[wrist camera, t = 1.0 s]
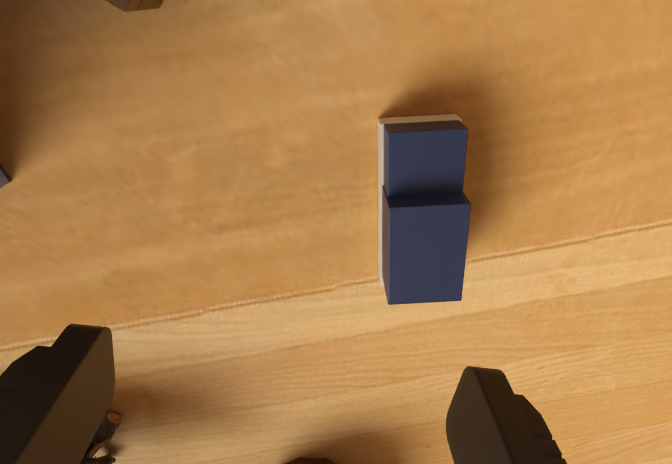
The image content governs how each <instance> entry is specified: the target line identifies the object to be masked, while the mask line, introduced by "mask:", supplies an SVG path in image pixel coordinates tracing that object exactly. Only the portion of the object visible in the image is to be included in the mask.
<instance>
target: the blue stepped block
mask: <svg viewBox="0 0 672 464" xmlns="http://www.w3.org/2000/svg"><path fill="white" fill-rule="evenodd" d="M467 137H468V128H467V127H466V126H465V125H464V124H463V123H462V119H461V118H460V117H459V116H457V115H456V114H444V115H425V116H407V117H389V118H378V271H379V280H380V285H381V286H384V287H385V292H386V296H387V301H388V304H389V305H391V304H410V303H428V302H446V301H461V299H462V289H463V279H464V269H465V259H466V249H467V239H468V229H469V220H470V210H471V203H470V201H469V200H468V198H467V197H466V196H465V194H464V193H463V181H464V170H465V159H466V148H467Z"/></svg>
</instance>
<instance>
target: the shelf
mask: <svg viewBox="0 0 672 464" xmlns="http://www.w3.org/2000/svg"><path fill="white" fill-rule="evenodd" d="M106 1H108V2H109V3H111V4H113V5H114V6H116V7H118V8H119V9H121V10H122V11H124V12H129V11H139V10H148V9H158V8H160V5H161V3H162V0H106Z"/></svg>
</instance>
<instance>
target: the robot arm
mask: <svg viewBox="0 0 672 464" xmlns="http://www.w3.org/2000/svg"><path fill="white" fill-rule="evenodd" d="M114 388H115V369H114V356H113V344H112V333H111V330H110V329H109V328H108V327H100V326H90V325H80V324H70V325H68V326H67V327H66V328H65V329H64V331H63V332H62V333H61V335H60V336H59V337H58V338H57V340H56V341H55V342H54V344H53V345H52V346H51V347H46V346H37V347H35V348H34V349H32V350H31V351H29V352H27V353H26V354H24V355H23V356H21V357H20V358H18V359H17V360H15V361H14V362H12V363H11V364H10V366H9V367H8V368H7V369H6V370H5V372H4V373H3V374H2V375H1V376H0V464H80V462H81V460H82V458H83V456H84V454H85V452H86V451H87V449H88V447H89V445H90V443H91V441H92V439H93V437H94V435H95V433H96V431H97V429H98V427H99V425H100V424H101V422H102V420H103V418H104V416H105V414H106V412H107V410H108V408H109V406H110V403H111V400H112V397H113V393H114ZM446 433H447V439H448V443H449V446H450V450H451V453H452V457H453V460H454V464H567V463H566V461H565V459H562V456H561V455H562V453H561V452H560V450H559V448H558V446H557V444H556V442H555V440H552V435H551V433H550V431H549V429H548V427H547V425H546V423H545V421H544V419H543V417H542V416H541V414H540V413H539V412H538V411H537V410H536V409H535V408H534V407H533V406H532V404H531V403H530V402H529V401H528V400H527V399H526V398H525V397H524V396H523V395H517V394H514V393H513V391H512V389H511V387H510V385H509V382H508V380H507V378H506V376H505V375H504V373H503V372H502V371H501V370H499V369H489V368H480V367H470V366H468V367H466V368H465V370H464V371H463V374H462V376H461V379H460V381H459V384H458V386H457V389H456V392H455V394H454V397H453V399H452V402H451V404H450V407H449V410H448V413H447V418H446Z"/></svg>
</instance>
